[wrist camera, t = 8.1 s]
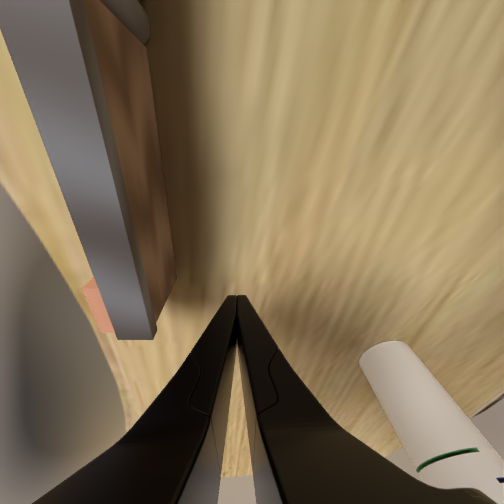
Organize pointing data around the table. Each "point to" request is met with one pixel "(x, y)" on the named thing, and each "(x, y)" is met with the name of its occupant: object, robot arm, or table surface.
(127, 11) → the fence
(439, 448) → the cylindrical container
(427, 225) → the table surface
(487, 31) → the table surface
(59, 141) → the gate
